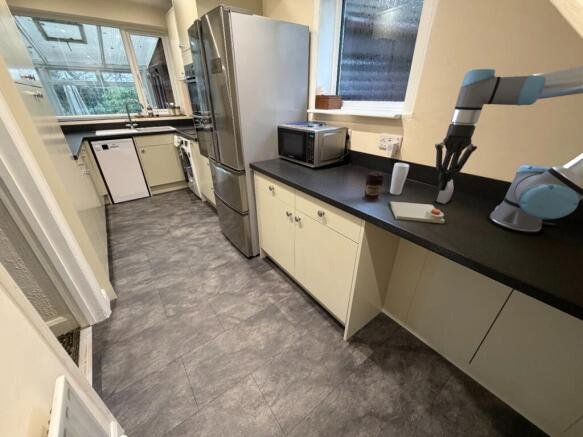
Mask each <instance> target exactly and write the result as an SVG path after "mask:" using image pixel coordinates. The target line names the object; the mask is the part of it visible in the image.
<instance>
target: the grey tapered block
mask: <svg viewBox="0 0 583 437" xmlns="http://www.w3.org/2000/svg"><path fill="white" fill-rule="evenodd" d="M454 190H455V189H454V180H453V179H451V181H450V182H448V183H447V186H446V189H445V191H440V190H439V192H438V195H437V197H436V202H437V203H441V204H447V203H448V202H449V201H450V200H451V198H452V196H453V193H454Z"/></svg>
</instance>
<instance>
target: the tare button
mask: <svg viewBox="0 0 583 437" xmlns="http://www.w3.org/2000/svg"><path fill="white" fill-rule="evenodd" d="M440 212H441V209H438V208H435V209H432V211H431V213H432V214H435V215H439V214H440Z"/></svg>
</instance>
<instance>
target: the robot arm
mask: <svg viewBox="0 0 583 437" xmlns="http://www.w3.org/2000/svg"><path fill="white" fill-rule="evenodd" d="M582 94H583V65H580V66H574V67H569V68H563V69H558V70H553V71H547V72H541V73H536V74H531V75H513V76H511V75H510V76H497V75H496V69H494V68H476V69H470V70H468V71H467V72H466V73H465V74H464V77H463V80H462V83H461V85H460V89H459V92H458V94H457V95H458V96H457V98H456V102H455V105H454V110H453V113H452V115H451V119H450V122H451V123H450V124H449V125H448V128H447V131H446V135H445V137H444V138H443V140H442V141H441V142H439V143H435V144H434V147H435V150H436V151H435V152H436V154H435V155H436V156H435V170H437V172H439V174H438V178H437V179H438V182H439V183H438V187H437V189H438V190H439V192H440V191H445V189H446V186H447V183H448V182H450V181H451V180H452V178H453V176H454V175H455V174H457V173H460V172H461V171H462V169H463V168H464V166H465V165H466V164H467V161H468V160H469V158H470V157H471V155H472V154H473V152H475V151H476V150H477V149H478V146H477V145H474V144H473V143H472V142H473V140H472V137H473V136H474V133H475V130H476V128H477V126H476V124H478V122H479V119H480V116H481V114H482V110H483V107H484V106H485V105H497V106H498V105H501V106H519V107H520V106H531V105H533V104H536V102H537V101H538V100H543V99H549V98H558V97H566V96H574V95H582ZM444 148H445V154H444V151H443V149H444ZM463 151H464V152H463ZM462 153H463V154H462ZM443 156H444V158H443ZM581 200H583V152H582V153H581V154H579V155H578V156H576V157H575V158H574V159H572V160H570V161H569V162H567V163H566V164H564V165H557V166H556V165H554V166H551V167H548V166H540V165H531V164H523V165H521V166H520V167H519V168H518V169H517V171H516V172H515V175H514V178H513V180H512V181H511V184H510V186H509V188H508V190H507V192H506V195H505V196H504V199H503V201H502V202H501V203H500V204H499V205H496V207H495V208H494V210H493V211H492V212H491V213H490V215H489V216H488V219H489V220H490V222H491V223H493V224H494V225H496V226H498V227H500V228H502V229H506V230H508V231H511V232H515V233H520V234H528V235H533V234H538V233H539V232H540V231H541V229H542V226H543V225H545V226H550V227H551V226H553V227H555V226H556V223H555V222H546V221H543V220H557V219H560V218H564V217H566V216H569V215H570V214H571V213H573V212H574V211H576V209H577V207H578V205H579V202H580V201H581Z"/></svg>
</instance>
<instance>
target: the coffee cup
mask: <svg viewBox="0 0 583 437" xmlns="http://www.w3.org/2000/svg"><path fill="white" fill-rule="evenodd" d="M385 179H386V176H385V173H383V172H380V171H370V172H368V173H367V174H366V175H365V189H364V198H363V199H364V200H365V201H367V202H373V203H374V202H378V201H379V195H380V192H381V190H382V186H383V183H384V180H385Z"/></svg>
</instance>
